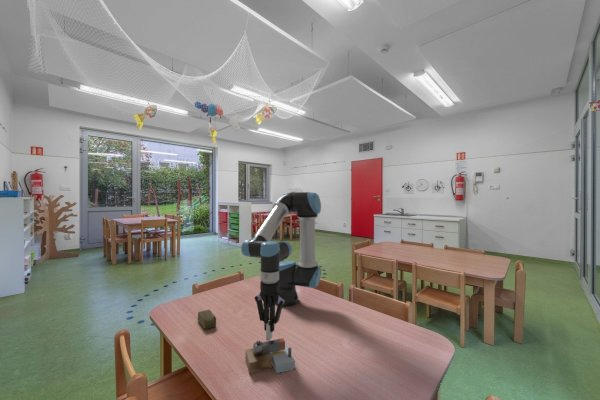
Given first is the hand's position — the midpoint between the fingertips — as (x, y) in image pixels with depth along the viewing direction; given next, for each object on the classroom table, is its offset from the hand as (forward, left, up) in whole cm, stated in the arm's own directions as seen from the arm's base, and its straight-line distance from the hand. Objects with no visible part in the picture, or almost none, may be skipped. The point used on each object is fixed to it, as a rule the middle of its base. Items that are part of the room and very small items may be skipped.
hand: (269, 338), depth 102 cm
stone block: (+23, -31, -6) cm, 39 cm away
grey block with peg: (-3, +6, -5) cm, 8 cm away
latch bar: (+2, +6, -1) cm, 7 cm away
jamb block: (+6, +6, -5) cm, 10 cm away
